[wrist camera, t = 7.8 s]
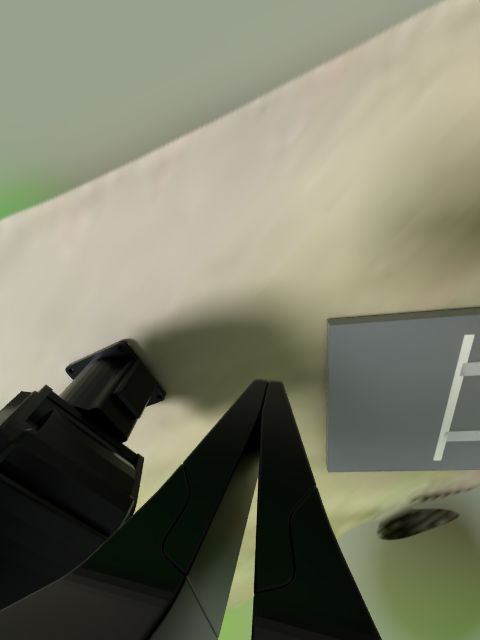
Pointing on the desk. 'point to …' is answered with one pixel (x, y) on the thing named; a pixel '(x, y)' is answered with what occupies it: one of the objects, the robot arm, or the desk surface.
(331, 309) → the desk surface
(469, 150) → the desk surface
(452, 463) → the grey marked board
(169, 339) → the desk surface
